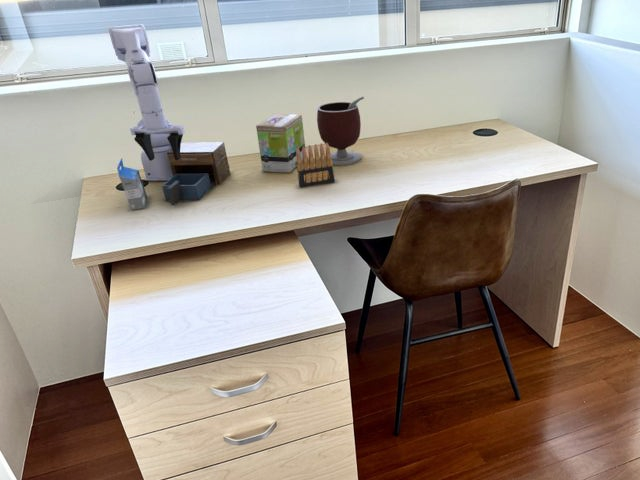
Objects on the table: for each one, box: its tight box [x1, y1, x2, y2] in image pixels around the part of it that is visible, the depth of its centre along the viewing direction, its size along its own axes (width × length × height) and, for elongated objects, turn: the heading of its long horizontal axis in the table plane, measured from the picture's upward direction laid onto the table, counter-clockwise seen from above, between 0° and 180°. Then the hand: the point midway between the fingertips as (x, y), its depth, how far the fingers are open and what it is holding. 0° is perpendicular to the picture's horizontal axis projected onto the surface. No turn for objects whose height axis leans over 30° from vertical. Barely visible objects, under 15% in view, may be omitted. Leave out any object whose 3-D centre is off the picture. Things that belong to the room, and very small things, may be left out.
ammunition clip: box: [296, 142, 336, 189], centre depth 164 cm, size 11×2×12 cm, turn 111°
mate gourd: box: [316, 96, 365, 166], centre depth 181 cm, size 16×14×20 cm
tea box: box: [255, 113, 306, 173], centre depth 180 cm, size 15×10×15 cm
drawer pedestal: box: [167, 141, 231, 186], centre depth 171 cm, size 12×14×10 cm
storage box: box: [161, 173, 212, 206], centre depth 160 cm, size 10×16×6 cm, turn 176°
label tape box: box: [116, 157, 148, 211], centre depth 156 cm, size 9×4×12 cm, turn 17°
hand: (165, 159), depth 160 cm, fingers open, 7 cm apart
